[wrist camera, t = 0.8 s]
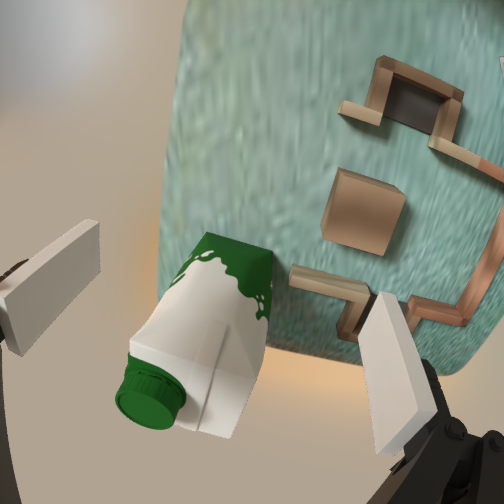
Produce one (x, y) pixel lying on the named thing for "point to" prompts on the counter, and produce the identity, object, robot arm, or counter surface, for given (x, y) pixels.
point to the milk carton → (202, 341)
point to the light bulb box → (502, 64)
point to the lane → (357, 291)
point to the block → (361, 212)
